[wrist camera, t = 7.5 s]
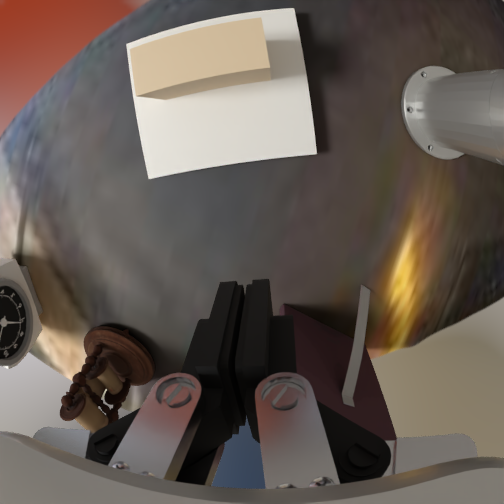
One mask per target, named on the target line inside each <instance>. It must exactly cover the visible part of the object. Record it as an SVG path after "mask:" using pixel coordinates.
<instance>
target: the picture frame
mask: <svg viewBox="0 0 504 504" xmlns="http://www.w3.org/2000/svg"><path fill="white" fill-rule="evenodd" d="M369 297H370V290H369V289H367V288H366V287H364V286H363V285H361V291H360V300H359V308H358V316H357V323H356V330H355V336H354V339H353V338H351V337H349V336H347V335H345V334H343V333H341V332H339V331H337V330H335V329H333V328H331V327H329V326H327V325H325V324H323V323H321V322H319V321H317V320H315V319H313V318H311V317H309V316H307V315H305V314H303V313H301V312H299V311H297V310H295V309H293V308H291V307H289V306H287V305H285V304H283V305H282V306H281V308H280V316H281V315H293V321H294V336H295V351H296V367H297V374H298V375H301V376H303V377H304V378H305V379H306V380H308V381H309V383H310V385H311V386H312V389H313V392H314V396H315V399H316V400H318V401H319V402H321V403H322V404H324V405H326V406H327V407H329V408H330V409H332V410H334V411H335V412H337V413H339V414H340V415H342V416H344V417H345V418H347V419H349V420H351V421H352V422H354V423H356V424H358V425H359V426H361V427H363V428H365V429H366V430H368V431H370V432H372V433H374V434H375V435H377V436H379V437H380V438H382V439H383V440H384V441H395V440H396V439H397V438H396V434H395V431H394V427H393V424H392V421H391V418H390V415H389V412H388V409H387V405H386V402H385V400H384V397H383V394H382V391H381V388H380V385H379V382H378V379H377V376H376V373H375V371H374V368H373V365H372V362H371V360H370V357H369V354H368V352H367V349H366V346H365V344H364V340H365V333H366V325H367V317H368V307H369Z"/></svg>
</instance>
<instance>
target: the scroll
mask: <svg viewBox="0 0 504 504" xmlns="http://www.w3.org/2000/svg"><path fill="white" fill-rule="evenodd" d="M84 349H85V352H86V354H87V356H88V357H86V359H85V363H86V364H84V365H83V366H82V370H81V372H79V373H77V374H75V375H74V376H73V384H72V385H71V386H70V390H69V392H66V395H65V396H63V397H62V399H61V402H62V407H61V409H60V417H61V418H62V419H63V420H65V421H71V420H73V419H75V420H76V421H77V422H79V423H80V424H81V425H82V426H83V427H84V428H85V429H86V430H91V432H92V433H95V432H96V431H97V430H99V429H101V428H103V427H105V426H107V425H109V424H111V423H113V422H115V421H116V420H118V418H119V415H118V409H119V408H120V407H121V406H122V404H121V403H122V402H124V401H125V400H126V396H127V394H128V392H129V388H130V385H133V386H139V385H144V384H146V383H148V382H149V381H150V380H151V379H152V377H153V375H154V372H155V364H154V361H153V359H152V357H151V355H150V353H149V352H148V351H147V349H146V348H145V347H144V346H143V345H142V344H141V343H140V342H139V341H137V340H136V339H135V338H133V337H132V336H130V335H129V330H128V329H125V330H124V331H121V330H118V329H116V328H112V327H107V326H99V327H95V328H93V329H91V330H90V331H89V332H88V333H87V335H86V336H85V339H84ZM105 389H107V391H106V393H105V396H104V399H105V402H106V403H108V404H110V405H113V408H112V409H111V410H110V408H109V407H108V406H107V405H105V404H103V400H101V398H102V395H103V393H104V391H105ZM98 406H100V407H101V409H102V411H103V412H104V413H106V415H105V414H104V413H103V412H102V411H101V410H100V409H98Z"/></svg>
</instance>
